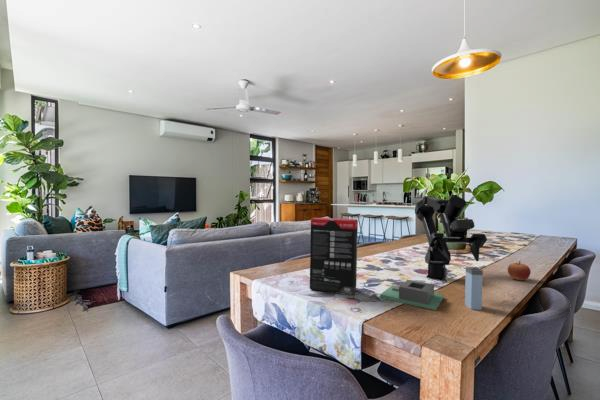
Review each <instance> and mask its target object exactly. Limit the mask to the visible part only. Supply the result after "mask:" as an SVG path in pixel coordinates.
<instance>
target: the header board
mask: <svg viewBox="0 0 600 400" xmlns="http://www.w3.org/2000/svg"><path fill="white" fill-rule="evenodd" d="M444 296H445V295H444V294H441V293H435V284H434V283H433V284H432V283H428V282H423V281H417V280H411V279H407V280H405V281H403V283H402V284H401V285H396V284H395V285H394V284H391V285H390V286H389V287H388V288H387V289H385V290H384V291H382V293H380V294H379V298H380V299H385V300H388V301H392V302H397V303H402V304H405V305H409V306H410V305H411V306H415V307H419V308H422V309H423V308H424V309H428V310H432V311H437V309H438V308H439V306H440V304H441V303H442V302H443V300H444Z"/></svg>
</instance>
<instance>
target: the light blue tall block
mask: <svg viewBox="0 0 600 400" xmlns="http://www.w3.org/2000/svg"><path fill="white" fill-rule="evenodd" d="M483 272H484V271H483V270H482V269H480V268H478V267H476V266H465V280H464V281H465V284H464V285H465V286H464V289H465V290H464V291H465V292H464V305H465V306H466V307H467V308H469V310H475V311H482V310H483V308H482V307H483V274H484V273H483Z"/></svg>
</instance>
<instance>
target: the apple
mask: <svg viewBox="0 0 600 400" xmlns="http://www.w3.org/2000/svg"><path fill="white" fill-rule="evenodd" d="M507 266H508V267H507V273H508V275H509V276H510V277H511V278H512V279H514V280H516V281H526V280H528V279H529V278H530V275H531V273H532V272H531V269H530V267H529V266H528V265H527V264H524V263H521V260H519V262H511V263H510V264H509V265H507Z"/></svg>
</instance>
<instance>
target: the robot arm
mask: <svg viewBox="0 0 600 400" xmlns="http://www.w3.org/2000/svg"><path fill="white" fill-rule="evenodd" d="M466 205H467V201H466V200H465V199H464V198H462V197H460V196H458V194H451V196H450V198H449V199H448V198H447V199H444V198H443V199H441V198H438V197H435V196H434V195H424V196H422V199H421V200H419V201H418V202H417V203H416V204H415V207H414V214H415V215H416V217H417V220H419V221H420V222H422V225H423V228H424V231H425V235H426V238H427V242H428V248H427V250H426V251H427V252H426V254H425V256H424V262H425V263H426V264H427V275H426V278H427V279H428V278H429V279H434V280H437V281H443V280H445V279H446V278H448V277H447V275H448V273H447V272H448V270H447V267H446V266H449V265H450V263H451V262H450V261H451V258H452V257H451V255H452V254H451V252H450V250H449V247H448V244H447V243H452V244H468V246H469V247H470V248H469V250H470V252H471V254H472V256H473V258H474V260H475V261H476V262H479V260H480V249H481V248H483V246H484V245H485V244H486V242H487V241H488V238H487V236H486V234H485V233H472V234H471V237H465V236H467V234H468V232H467V231H470V230H472V229H474V228H475V222H474V220H473V219H471V218H470V219H469V218H467V219H458V218H459V217H461V215H462V214H463V211H464V209H465V208H466ZM435 213H436V214H440V216H439V217H440V220H439V223H440V224H441V225H442V226H443V227H442V228H443V231H442V232H438V231H437V227H436V224H435V222H434V221H435V220H434V219H433V217H434V214H435Z"/></svg>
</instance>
